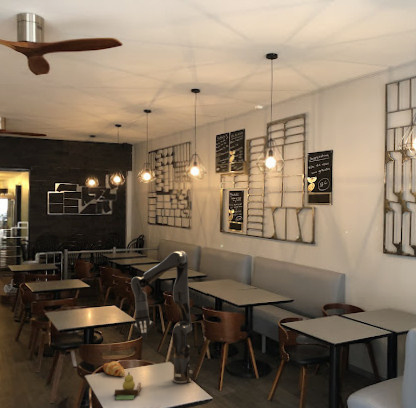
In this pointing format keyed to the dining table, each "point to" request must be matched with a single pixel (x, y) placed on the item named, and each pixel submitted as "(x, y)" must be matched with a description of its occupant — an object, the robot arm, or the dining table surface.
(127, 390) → the corner fence
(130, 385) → the pear
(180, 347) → the robot arm
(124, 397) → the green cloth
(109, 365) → the croissant
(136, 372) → the dining table surface
